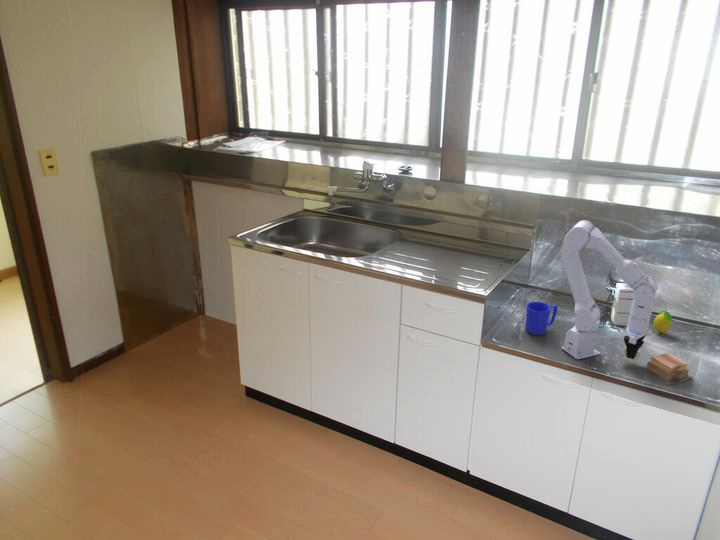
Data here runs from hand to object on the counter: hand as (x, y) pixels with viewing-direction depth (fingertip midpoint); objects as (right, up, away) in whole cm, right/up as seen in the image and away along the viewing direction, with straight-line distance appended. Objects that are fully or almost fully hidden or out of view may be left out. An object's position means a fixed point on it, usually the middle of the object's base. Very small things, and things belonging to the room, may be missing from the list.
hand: (631, 354), depth 176 cm
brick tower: (+9, -6, -4) cm, 11 cm away
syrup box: (+10, +7, +29) cm, 31 cm away
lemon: (+20, +4, +21) cm, 29 cm away
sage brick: (0, -1, +1) cm, 1 cm away
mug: (-22, +5, +22) cm, 32 cm away
